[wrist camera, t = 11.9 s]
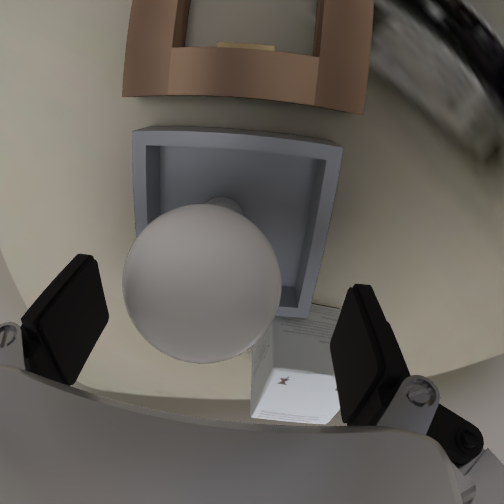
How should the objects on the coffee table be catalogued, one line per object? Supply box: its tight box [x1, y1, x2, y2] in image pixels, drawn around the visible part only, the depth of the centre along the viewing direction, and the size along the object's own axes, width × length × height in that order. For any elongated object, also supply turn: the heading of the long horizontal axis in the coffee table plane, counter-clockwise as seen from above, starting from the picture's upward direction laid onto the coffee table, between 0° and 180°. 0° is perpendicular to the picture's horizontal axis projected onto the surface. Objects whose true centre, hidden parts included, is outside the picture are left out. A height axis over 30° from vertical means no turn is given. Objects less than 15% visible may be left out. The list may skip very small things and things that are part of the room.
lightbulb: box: [122, 197, 282, 364], centre depth 14 cm, size 6×6×11 cm
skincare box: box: [250, 304, 341, 424], centre depth 21 cm, size 6×6×7 cm
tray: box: [133, 126, 344, 318], centre depth 18 cm, size 11×11×3 cm
